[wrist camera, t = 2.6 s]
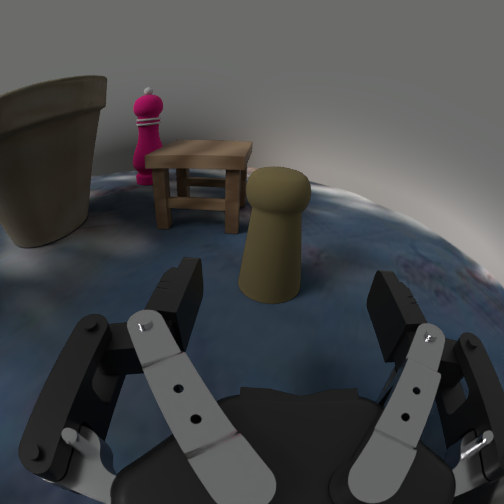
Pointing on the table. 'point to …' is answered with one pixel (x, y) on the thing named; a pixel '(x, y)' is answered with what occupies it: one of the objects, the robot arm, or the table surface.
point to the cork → (274, 234)
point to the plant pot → (48, 157)
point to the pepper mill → (147, 133)
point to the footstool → (200, 157)
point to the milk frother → (484, 495)
